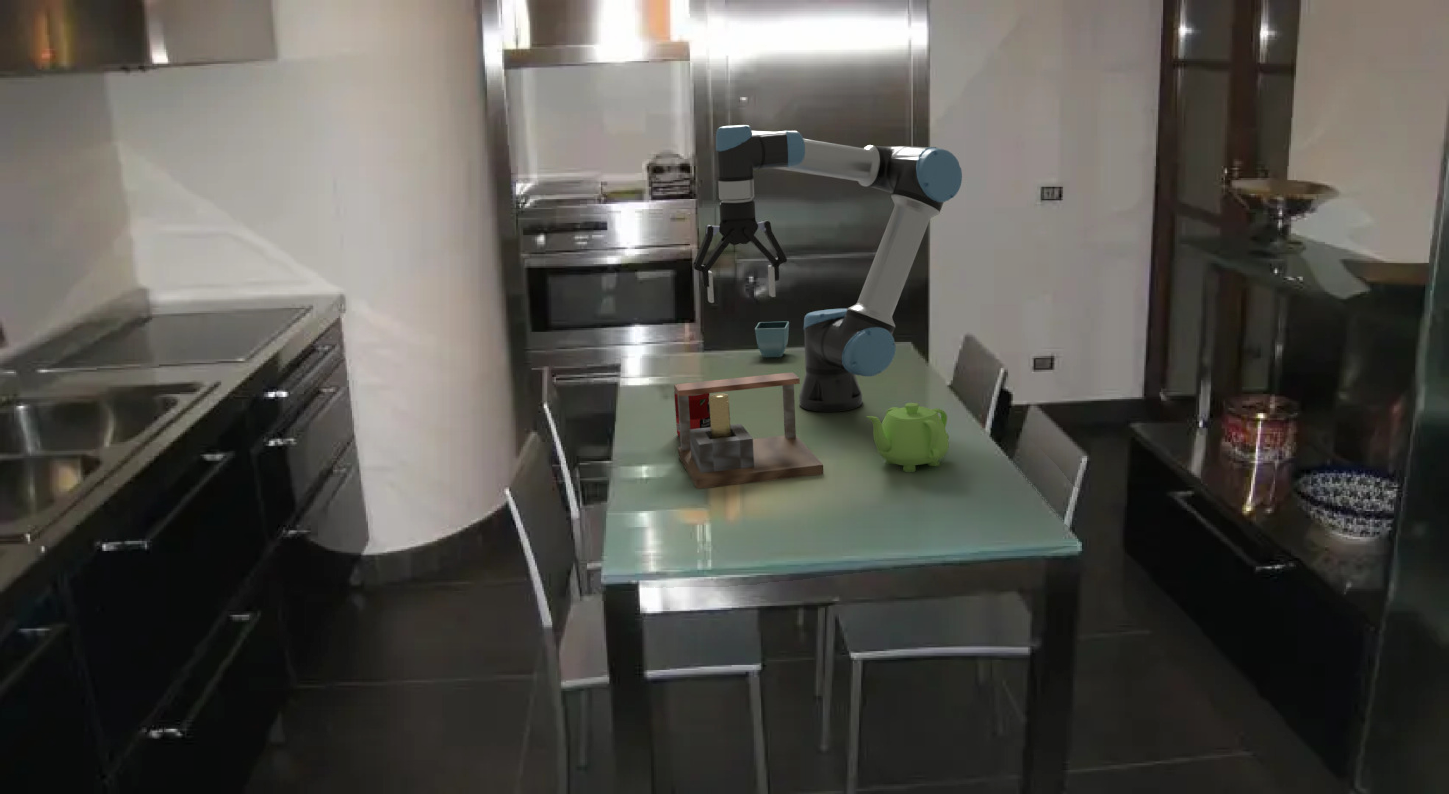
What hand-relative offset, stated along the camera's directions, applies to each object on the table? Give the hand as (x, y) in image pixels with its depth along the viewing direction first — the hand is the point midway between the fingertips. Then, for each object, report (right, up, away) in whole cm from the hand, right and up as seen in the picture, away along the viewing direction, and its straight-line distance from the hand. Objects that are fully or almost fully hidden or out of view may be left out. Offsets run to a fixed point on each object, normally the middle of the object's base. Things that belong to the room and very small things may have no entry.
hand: (741, 299), depth 266 cm
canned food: (-11, -30, +13) cm, 35 cm away
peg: (-4, -35, -13) cm, 37 cm away
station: (+1, -35, -9) cm, 37 cm away
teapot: (+34, -35, -14) cm, 51 cm away
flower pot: (+10, -10, +83) cm, 84 cm away
